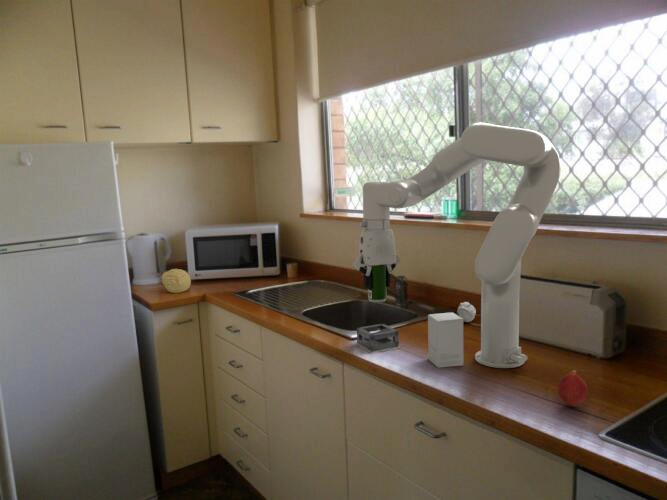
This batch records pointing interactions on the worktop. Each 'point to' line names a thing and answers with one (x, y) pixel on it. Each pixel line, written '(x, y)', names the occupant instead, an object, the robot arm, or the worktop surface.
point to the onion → (572, 389)
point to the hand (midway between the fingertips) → (377, 286)
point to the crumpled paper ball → (466, 311)
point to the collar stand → (377, 338)
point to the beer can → (378, 284)
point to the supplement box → (445, 339)
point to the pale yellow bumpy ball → (176, 280)
